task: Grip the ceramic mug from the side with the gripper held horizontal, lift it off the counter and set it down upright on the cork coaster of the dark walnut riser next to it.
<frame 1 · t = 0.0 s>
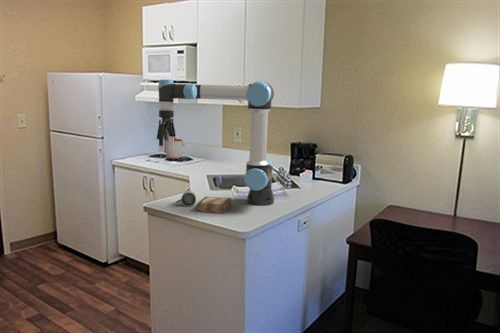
hand: (166, 150, 219), 28 cm above the countertop, tool pointing down, fingers open, 13 cm apart
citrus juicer: (175, 159, 360), on the countertop
ceramic mug: (186, 205, 218), on the countertop
walnut riser: (214, 208, 213), on the countertop
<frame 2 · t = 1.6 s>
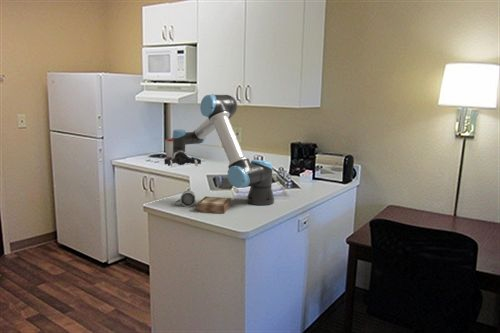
hand: (184, 164, 223), 20 cm above the countertop, tool horizontal, fingers open, 13 cm apart
nothing on the countertop moved.
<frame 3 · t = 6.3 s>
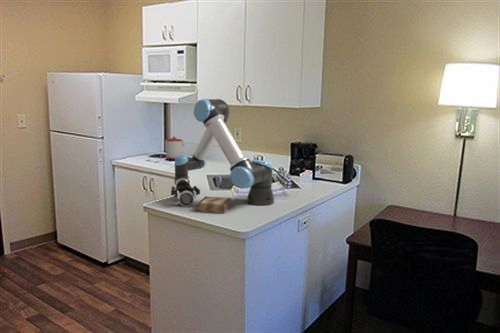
hand: (187, 196, 212), 6 cm above the countertop, tool horizontal, fingers closed on ceramic mug, 8 cm apart
ceramic mug: (183, 205, 218), on the countertop, touching gripper
everything else where it was.
when the fingers open (12 cm above the countertop, at t = 12.0 s): ceramic mug drops 2 cm, resting on walnut riser.
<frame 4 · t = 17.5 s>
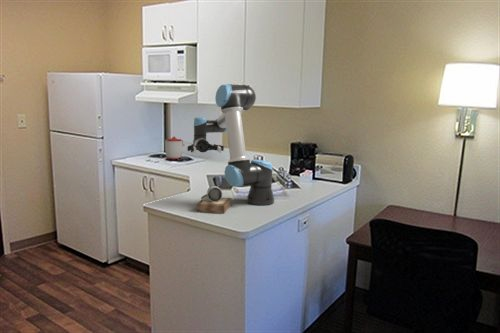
hand: (208, 150, 222), 28 cm above the countertop, tool horizontal, fingers open, 13 cm apart
ceramic mug: (211, 200, 212), point 4 cm above the countertop, touching walnut riser
everything else where it was.
at the end: ceramic mug inside the target area on the walnut riser (1.4 cm from its centre), point 4.1 cm above the walnut riser's base; ceramic mug tilted 1°; the gripper is holding nothing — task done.
